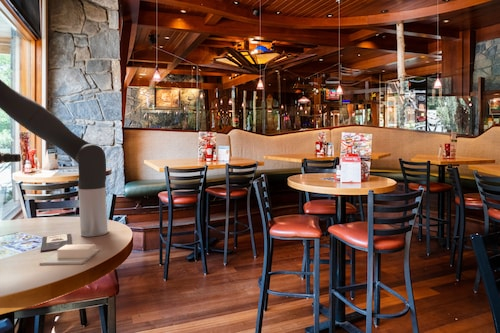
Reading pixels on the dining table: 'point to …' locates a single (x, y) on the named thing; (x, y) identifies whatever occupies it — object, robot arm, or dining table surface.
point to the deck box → (76, 251)
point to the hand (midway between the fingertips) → (19, 157)
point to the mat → (64, 260)
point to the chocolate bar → (55, 242)
